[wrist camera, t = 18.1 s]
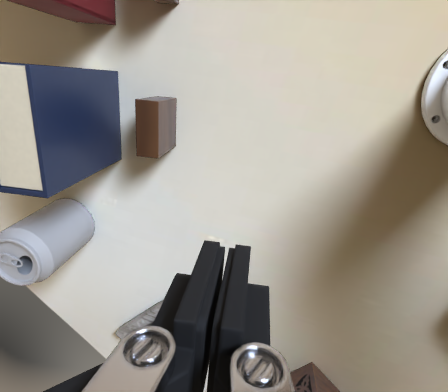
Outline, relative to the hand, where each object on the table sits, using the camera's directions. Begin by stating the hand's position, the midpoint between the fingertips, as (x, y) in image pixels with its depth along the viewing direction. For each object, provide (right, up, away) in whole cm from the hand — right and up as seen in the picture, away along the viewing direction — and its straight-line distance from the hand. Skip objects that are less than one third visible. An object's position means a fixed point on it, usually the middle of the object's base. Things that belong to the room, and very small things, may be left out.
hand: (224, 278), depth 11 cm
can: (-22, -1, +35) cm, 41 cm away
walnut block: (-7, +12, +28) cm, 31 cm away
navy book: (-14, +11, +21) cm, 28 cm away
